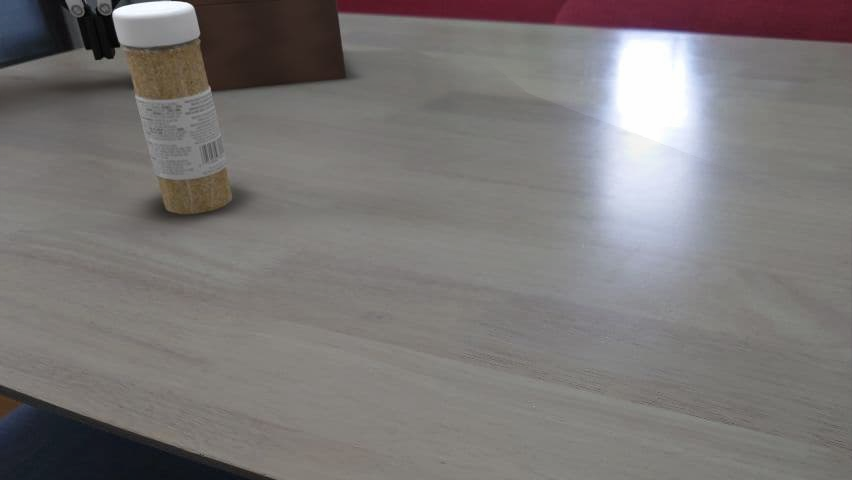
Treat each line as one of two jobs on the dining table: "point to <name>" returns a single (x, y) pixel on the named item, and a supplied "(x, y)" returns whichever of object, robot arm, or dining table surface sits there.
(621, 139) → the dining table surface
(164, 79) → the seasoning bottle
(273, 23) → the cabinet
